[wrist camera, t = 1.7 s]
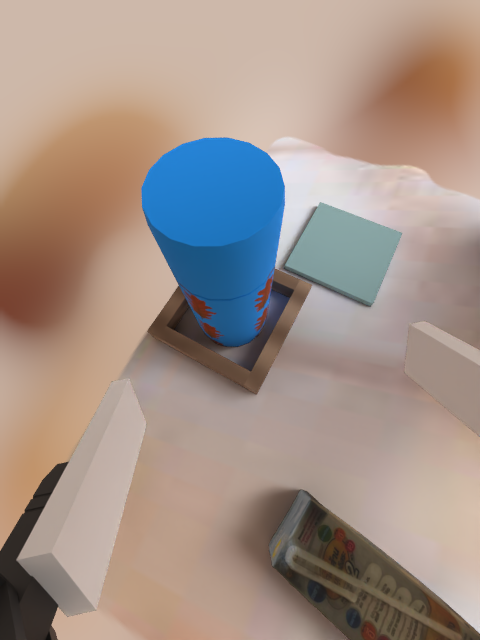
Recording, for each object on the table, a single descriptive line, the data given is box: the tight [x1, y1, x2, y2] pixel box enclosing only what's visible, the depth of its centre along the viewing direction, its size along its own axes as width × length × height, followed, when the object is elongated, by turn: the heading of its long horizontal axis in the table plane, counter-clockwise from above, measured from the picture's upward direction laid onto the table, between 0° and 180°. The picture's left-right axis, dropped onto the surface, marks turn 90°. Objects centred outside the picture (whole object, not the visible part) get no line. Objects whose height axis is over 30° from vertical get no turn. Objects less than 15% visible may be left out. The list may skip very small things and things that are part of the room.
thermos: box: [142, 138, 285, 347], centre depth 31 cm, size 11×11×25 cm
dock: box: [147, 269, 312, 394], centre depth 42 cm, size 18×18×3 cm
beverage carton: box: [269, 490, 480, 640], centre depth 28 cm, size 8×19×7 cm, turn 53°
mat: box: [284, 202, 402, 306], centre depth 46 cm, size 15×15×1 cm
